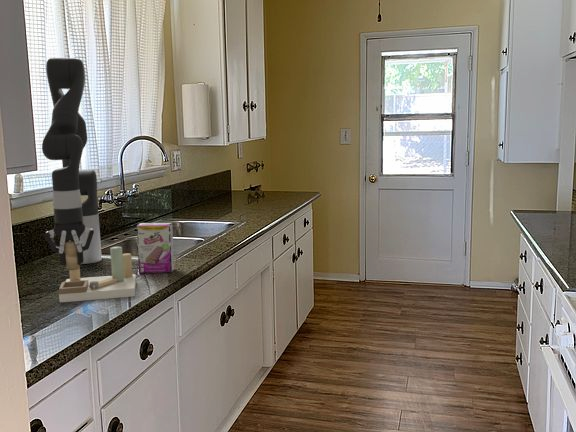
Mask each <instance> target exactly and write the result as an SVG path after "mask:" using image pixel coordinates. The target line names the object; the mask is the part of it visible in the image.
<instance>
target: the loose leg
mask: <svg viewBox="0 0 576 432" xmlns="http://www.w3.org/2000/svg"><path fill="white" fill-rule="evenodd" d="M64 250H65V261H66V266H65V271H69V270H77V269H79V267H80V265H78V249H77V246H76V244H75V241H68V242H65V246H64Z"/></svg>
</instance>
